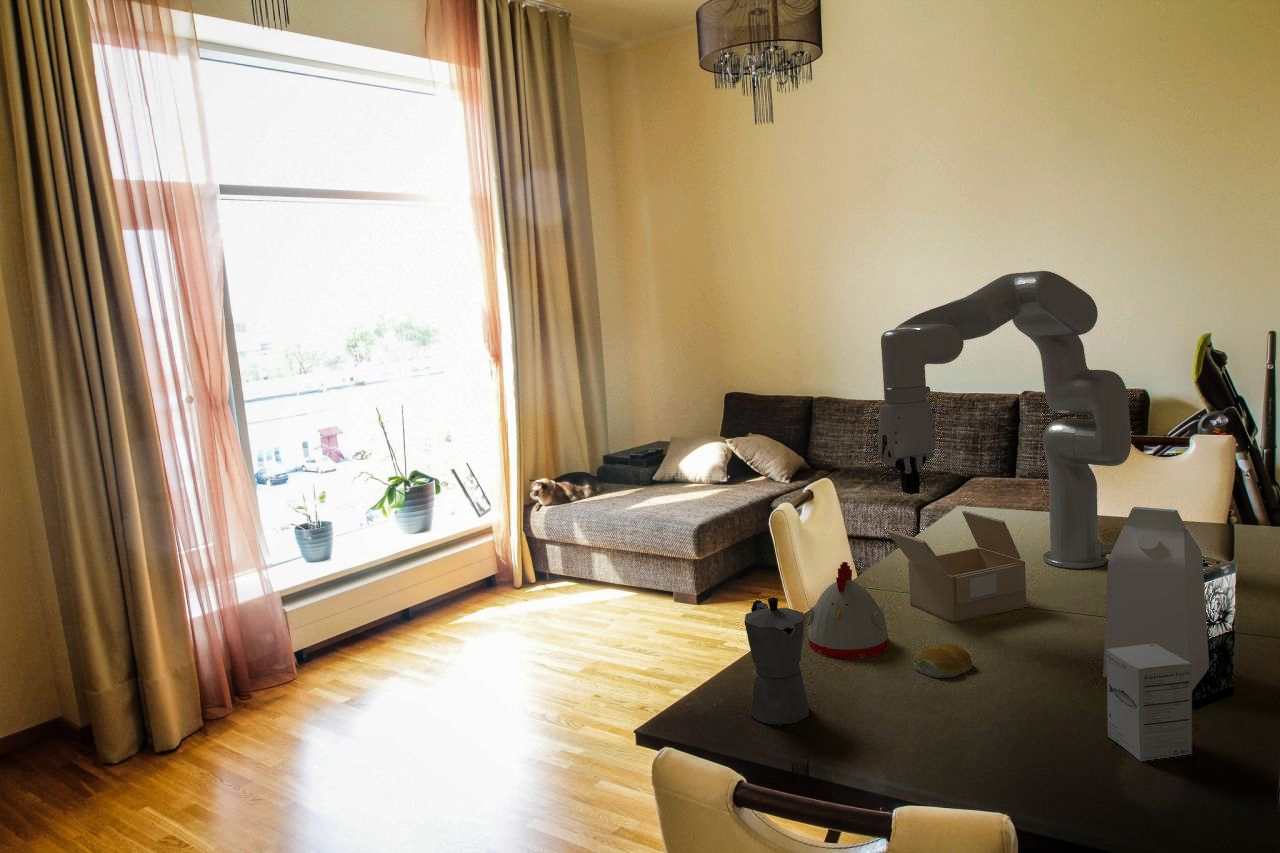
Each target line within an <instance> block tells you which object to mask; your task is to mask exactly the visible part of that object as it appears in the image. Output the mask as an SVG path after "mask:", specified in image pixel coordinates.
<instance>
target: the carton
mask: <svg viewBox="0 0 1280 853" xmlns="http://www.w3.org/2000/svg"><path fill="white" fill-rule="evenodd" d="M936 556H937V557H938V559H939V560H940V561H941V563H942V564H943V565H944V566H945V568H946V569H947V570H948V572H949V574H948V575H947V574H944V573H941V572H939V571H936V570H933V569H930V568H928V567H925V566H922V565H919V564H916V563H914V562H911V561H909V560H908V565H907V566H908V583H909V584H908V586H909V605H910V606H911V607H912V608H915V609H918V610H921V611H922V612H925V613H927V614H930V615H932V616H934V617H937V618H939V619H941V620H944V621H946V622H948V623H951V624H953V625H955V624H959V622H960V623H964V622H968V620H969V621H973V620H977V619H980V618H981V617H982V618H986V617H990V616H989V615H991V616H994V614H995V615H999V614H1002V613H1003V612H1004V613H1008V612H1011V610H1012V611H1016V610H1015V609H1017V610H1021V609H1025V608H1024V607H1026V608H1027V581H1026V578H1027V577H1026V561H1024V560H1022V559H1016V558H1012V557H1009V556H1006V555H1002V554H999V553H996V552H993V551H989V550H986V549H983V548H979V547H978V546H977V547H974V548H968V549H964V550H959V551H953V552H947V553H944V554H943V553H942V554H938V555H936ZM1020 608H1021V609H1020ZM1007 611H1008V612H1007ZM998 613H999V614H998ZM985 616H986V617H985ZM972 619H973V620H972ZM963 621H964V622H963Z"/></svg>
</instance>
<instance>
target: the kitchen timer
mask: <svg viewBox="0 0 1280 853" xmlns="http://www.w3.org/2000/svg"><path fill="white" fill-rule="evenodd" d="M839 566H840V567H837V576H836V577H835V580H836V581H835V582H833V583H831V584H830V585H829V586H828V587H826V588H825V589H824V591H823V592H822V593H821V595H820V596H819V598H818V599H817V602H816V603H815V605H813V606H814V607H812V606H811V607H810V609H809V618H808V624H809V627H808V632H807V633H808V645H809V648H810V650H812V649H813V650H814V651H815V652H814V651H813V650H812V651H813V652H814V653H816V652H817V653H816V654H818V655H821V654H822V656H824V655H826V657H829V656H830V657H829V658H833V657H834V658H833V659H835V658H836V659H844V658H845V659H846V658H849V659H862V658H868V657H872V656H877V655H879V654H880V653H883V652H885V651H886V649H888V648H889V634H888V629H887V626H886V625H887V623H886V618H885V615H884V614H885V613H884V608H883V605H878V603H877V602H876V600H875V599H874V597H873V596H872V595H871V594H870V592H869V591H868V590H867V589H866V588H865V587H863V585H861V584H859V583H858V582H856V581H854V580H853V569H851V565H849V563H848V562H847V561H842V562H841V564H840V565H839Z"/></svg>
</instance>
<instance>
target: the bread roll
mask: <svg viewBox="0 0 1280 853" xmlns="http://www.w3.org/2000/svg"><path fill="white" fill-rule="evenodd" d="M912 665H913V667H914V668H915V670H916V671H917V672H918V673H920V674H922V675H924V676H927V677H931V678H934V677H935V679H950V678H954V677H957V676H959V675H961V674H965V673H967V672H969V671H970V670H972V668H973V667H972V666H973V662H972V658H971V656H970V654H969V652H968V651H966V650H965V649H964V648H962V647H961V646H959V645H957V644H953V643H943V644H937V645H936V644H935V645H932V646H930V647H928V648H923V649H921V650H919V651H917V653H916V654H915V656H914V657H913V662H912Z"/></svg>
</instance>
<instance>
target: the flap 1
mask: <svg viewBox="0 0 1280 853" xmlns="http://www.w3.org/2000/svg"><path fill="white" fill-rule="evenodd" d="M885 532H886V533H887V535H889V537H890V538H891V540H893V541H894V543H895V544H896V546H898V548H899V549H900V550H901V552H902V553H903V555H904V556H905V557H906V559H908V561H911V562H914V563H916V564H919V565H922V566H925V567H928V568H930V569H933V570H936V571H939V572H941V573H944V574H947V575H948V574H949V572H948V570H947V569H946V568H945V566H944V565H943V564H942V563H941V561H940V560H939V559H938V557H937V555H936V553H935V552H934V550H932V548H931V547H930V545H928V543H927V542H926V540H923V539H920V538H916V537H914V536H911V535H907V534H905V533H901V532H898V531H896V530H893V529H889V528H887V529H886V530H885Z"/></svg>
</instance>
